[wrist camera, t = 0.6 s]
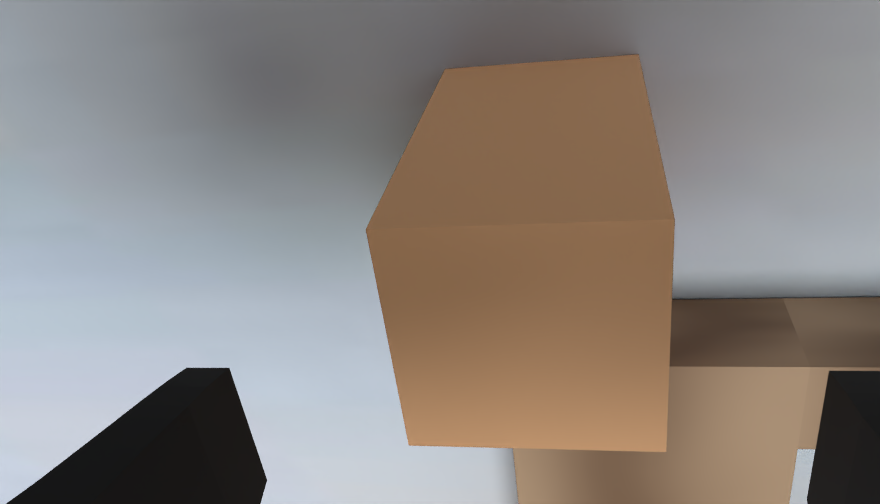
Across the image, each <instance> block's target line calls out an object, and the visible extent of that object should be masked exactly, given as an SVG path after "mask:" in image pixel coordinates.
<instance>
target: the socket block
mask: <svg viewBox="0 0 880 504" xmlns="http://www.w3.org/2000/svg"><path fill="white" fill-rule="evenodd" d="M829 371H880V297H853V298H771V299H689V300H672V309H671V337H670V364H669V392H668V420H667V447H666V452H640V451H602V450H565V449H527V448H513V454H514V464H515V474H516V483H517V493H518V502H519V504H789V501H790V494H791V488H792V482H793V475H794V469H795V462H796V456H797V449H816V444H817V438H818V432H819V426H820V420H821V414H822V409H823V403H824V397H825V391H826V385H827V379H828V374H829Z"/></svg>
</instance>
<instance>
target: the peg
mask: <svg viewBox="0 0 880 504" xmlns="http://www.w3.org/2000/svg"><path fill="white" fill-rule="evenodd" d="M674 226H675V218H674V214H673V209H672V204H671V200H670V195H669V191H668V186H667V182H666V177H665V173H664V168H663V164H662V159H661V154H660V150H659V145H658V141H657V136H656V132H655V127H654V123H653V118H652V114H651V109H650V104H649V100H648V95H647V91H646V86H645V82H644V77H643V73H642V68H641V64H640V59H639V54H636V55H623V56H610V57H596V58H583V59H570V60H557V61H544V62H531V63H517V64H504V65H491V66H478V67H465V68H452V69H445V70H444V72H443V74H442V76H441V78H440V80H439V82H438V84H437V86H436V88H435V90H434V92H433V94H432V96H431V98H430V100H429V102H428V104H427V107H426V109H425V111H424V113H423V115H422V117H421V119H420V121H419V123H418V125H417V127H416V129H415V131H414V133H413V135H412V137H411V139H410V141H409V143H408V145H407V147H406V149H405V151H404V153H403V155H402V157H401V159H400V161H399V163H398V165H397V167H396V169H395V171H394V173H393V175H392V177H391V179H390V181H389V183H388V185H387V187H386V189H385V192H384V194H383V196H382V198H381V200H380V202H379V204H378V206H377V208H376V210H375V212H374V214H373V216H372V218H371V220H370V222H369V224H368V226H367V228H366V233H367V238H368V243H369V248H370V253H371V258H372V263H373V268H374V273H375V278H376V283H377V288H378V293H379V298H380V303H381V308H382V313H383V318H384V323H385V328H386V333H387V338H388V343H389V348H390V353H391V358H392V363H393V368H394V373H395V378H396V383H397V388H398V393H399V398H400V403H401V409H402V414H403V419H404V424H405V429H406V434H407V439H408V444H409V445H413V446H451V447H489V448H527V449H565V450H602V451H640V452H666V447H667V420H668V392H669V364H670V337H671V309H672V281H673V253H674Z"/></svg>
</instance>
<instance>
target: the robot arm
mask: <svg viewBox="0 0 880 504" xmlns="http://www.w3.org/2000/svg"><path fill="white" fill-rule="evenodd" d="M266 482H267V479H266V476H265V473H264V470H263V467H262V464H261V461H260V458H259V455H258V452H257V449H256V446H255V443H254V440H253V437H252V434H251V431H250V428H249V425H248V422H247V419H246V416H245V413H244V410H243V407H242V405H241V402H240V399H239V396H238V393H237V390H236V387H235V384H234V381H233V378H232V375H231V372H230V369H229V368H186V369H184V370H183V371H181V372H180V373H178V374H177V375H176V376H174V377H173V378H171V379H170V380H168V381H167V382H166V383H164V384H163V385H162V386H160V387H159V388H158V389H156V390H155V391H154V392H152V393H151V394H150V395H148V396H147V397H146V398H144V399H143V400H142V401H140V402H139V403H138V404H136V405H135V406H134V407H133V408H131V409H130V410H129V411H127V412H126V413H125V414H124V415H122V416H121V417H120V418H118V419H117V420H116V421H115V422H113V423H112V424H111V425H110V426H108V427H107V428H106V429H104V430H103V431H102V432H101V433H99V434H98V435H97V436H95V437H94V438H93V439H91V440H90V441H89V442H88V443H86V444H85V445H84V446H82V447H81V448H80V449H79V450H77V451H76V452H75V453H73V454H72V455H71V456H69V457H68V458H67V459H66V460H64V461H63V462H62V463H60V464H59V465H58V466H56V467H55V468H54V469H53V470H51V471H50V472H49V473H47V474H46V475H45V476H43V477H42V478H41V479H40V480H38V481H37V482H36V483H34V484H33V485H32V486H30V487H29V488H27V489H26V490H25V491H23V492H22V493H20V494H19V495H18V496H16V497H15V498H13V499H12V500H11V501H9V502H8V503H7V504H260V503H261V500H262V496H263V492H264V489H265V485H266ZM807 502H808V504H880V371H829V374H828V379H827V385H826V391H825V397H824V403H823V409H822V414H821V420H820V426H819V432H818V438H817V444H816V449H815V455H814V461H813V467H812V473H811V479H810V484H809V490H808V496H807Z"/></svg>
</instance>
